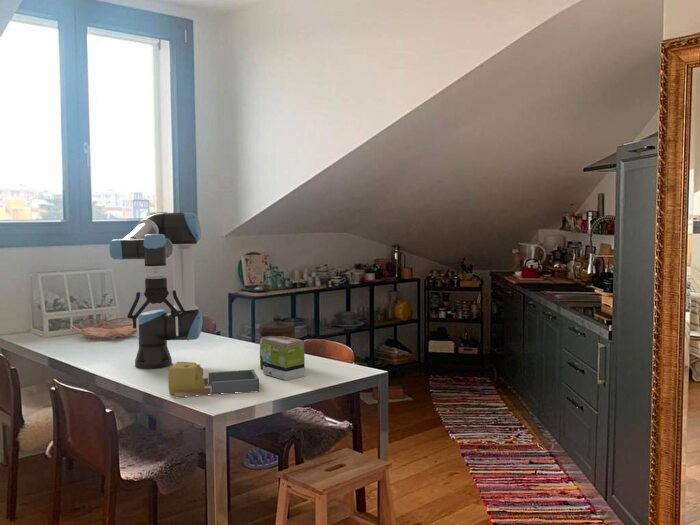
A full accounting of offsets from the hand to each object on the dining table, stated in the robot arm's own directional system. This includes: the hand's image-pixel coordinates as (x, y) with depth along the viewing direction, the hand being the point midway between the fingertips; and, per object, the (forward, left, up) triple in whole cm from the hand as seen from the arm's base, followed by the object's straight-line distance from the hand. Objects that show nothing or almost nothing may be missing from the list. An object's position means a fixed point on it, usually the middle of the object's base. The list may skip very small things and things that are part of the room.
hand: (157, 336), depth 254 cm
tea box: (-13, +48, -21) cm, 54 cm away
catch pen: (0, +27, -21) cm, 34 cm away
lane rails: (0, +12, -21) cm, 24 cm away
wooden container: (-27, +48, -21) cm, 59 cm away
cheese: (0, +10, -21) cm, 23 cm away
